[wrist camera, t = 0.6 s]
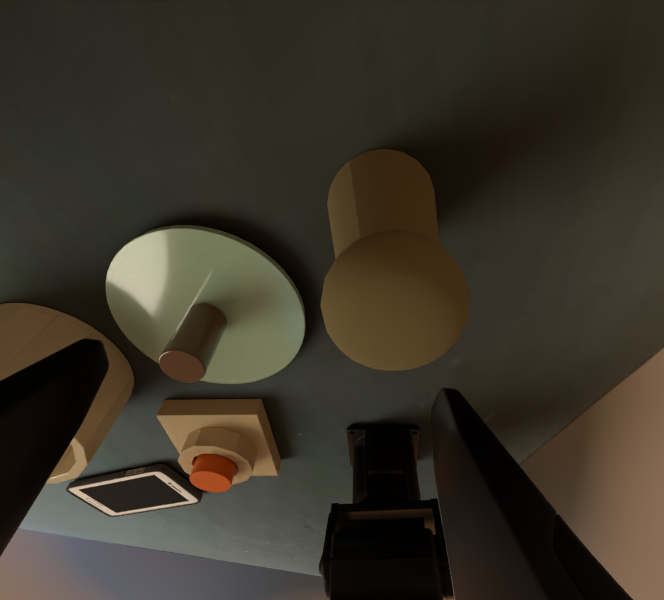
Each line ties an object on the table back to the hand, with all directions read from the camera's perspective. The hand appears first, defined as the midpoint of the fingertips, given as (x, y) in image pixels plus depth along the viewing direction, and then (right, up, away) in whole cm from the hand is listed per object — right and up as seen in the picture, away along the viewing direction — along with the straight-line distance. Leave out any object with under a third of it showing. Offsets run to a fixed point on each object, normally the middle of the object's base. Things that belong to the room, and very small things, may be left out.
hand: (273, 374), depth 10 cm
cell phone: (-22, -20, +33) cm, 45 cm away
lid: (-7, +1, +16) cm, 17 cm away
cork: (+4, +8, +11) cm, 14 cm away
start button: (-9, -13, +23) cm, 28 cm away
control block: (-9, -11, +25) cm, 29 cm away
